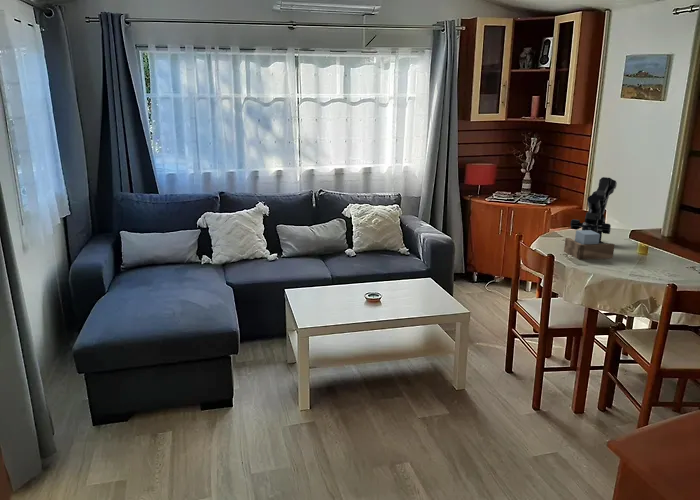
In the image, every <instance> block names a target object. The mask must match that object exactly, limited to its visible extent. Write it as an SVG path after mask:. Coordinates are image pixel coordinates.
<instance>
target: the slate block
mask: <svg viewBox="0 0 700 500" xmlns="http://www.w3.org/2000/svg"><path fill="white" fill-rule="evenodd" d="M574 236H575V237H574V241H576V242H578V243H580V244H600V243H599V238H600V234H598V233H596V232H594V231H592V230H582V229H581V230H579V229H578V230H575V235H574Z"/></svg>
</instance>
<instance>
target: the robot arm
mask: <svg viewBox="0 0 700 500" xmlns="http://www.w3.org/2000/svg"><path fill="white" fill-rule="evenodd" d="M617 185H618V184H617V180H615V179H612V178H611V177H606V176H603V177H601V178H599V182H598V187H597V188H596V189H597V190H596V191H592V193H591V195H588V197H587V208H588V211H587V212H585V213H586V214H585V217H584V222H581V220H580V219H571V220H570V229H572V230H575V231H577V230H579V229H580V228H581V230H592V231H594V232H596V233H598V234H600V238H599V244H604V241H602V237H603V236H602V235H603V234H606V235H609V234H611V230H612V227H611V226H612V225H611V224H610V223H606V221H605V212H606V209H607V204H608V200H609V198H610V195H612V194H613V193H614V192H615V190H616V189H617Z"/></svg>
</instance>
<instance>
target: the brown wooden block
mask: <svg viewBox="0 0 700 500" xmlns="http://www.w3.org/2000/svg"><path fill="white" fill-rule="evenodd" d="M614 251H615V244H614V243H599V244H580V243H578V242H576V241H575V239H572V238H570V237H566V238H565V240H564V248H563V252H565V253H566V254H567V255H570V256H572V257H573V258H576V259H577V260H597V259H599V260H600V259H601V260H602V259H613V257H614Z"/></svg>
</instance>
